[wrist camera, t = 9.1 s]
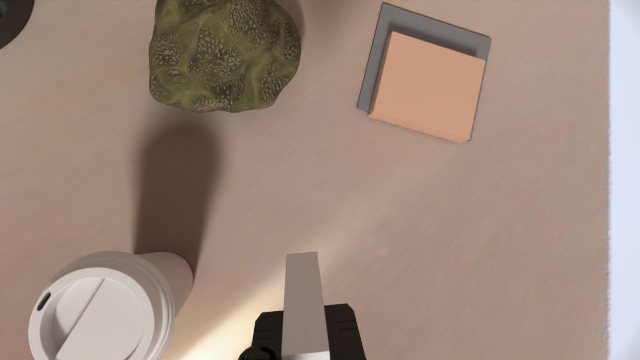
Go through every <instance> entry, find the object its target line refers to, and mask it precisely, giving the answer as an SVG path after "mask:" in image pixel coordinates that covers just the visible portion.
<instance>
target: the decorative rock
mask: <svg viewBox="0 0 640 360" xmlns="http://www.w3.org/2000/svg"><path fill="white" fill-rule="evenodd" d="M300 55H301V44H300V37H299V33H298V30H297V28H296V25H295V23H294V21H293V19H292V18H291V17H290V15H289V14H288V13H287V12H286V11H285V10H284V9H283V8H282V7H281V6H280V5H279V4H277V3H276V2H275V1H274V0H157V4H156V9H155V25H154V31H153V37H152V39H151V42H150V46H149V66H150V76H149V90H150V93H151V95H152V97H153V98H154V99H155V100H157V101H158V102H160V103H163V104H166V105H169V106H173V107H177V108H182V109H186V110H190V111H193V112H199V113H204V112H209V111H215V110H222V111H227V112H231V113H236V112H242V111H246V110H254V109H264V108H268V107H270V106H272V105H273V104H274V102H275V101H276V99H277V97H278V95H279V94H280V92H281V91H282V89H283V88H284V87H285V86H286V85H287V84H288V83H289V82H290V81H291V79H292V78H293V77H294V75H295V74H296V72H297V69H298V65H299V61H300Z"/></svg>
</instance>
